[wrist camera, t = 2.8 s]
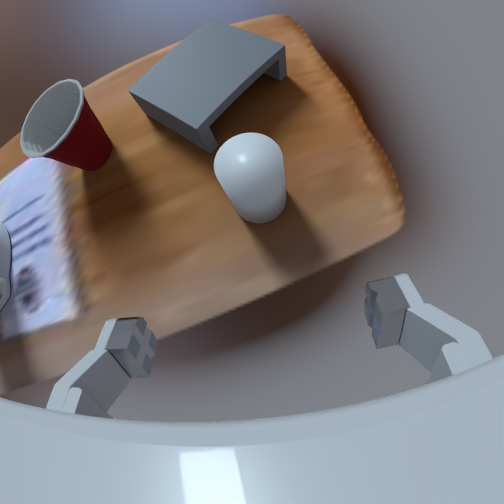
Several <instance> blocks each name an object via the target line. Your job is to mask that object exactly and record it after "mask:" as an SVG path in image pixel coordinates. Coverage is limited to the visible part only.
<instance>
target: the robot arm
mask: <svg viewBox="0 0 504 504" xmlns="http://www.w3.org/2000/svg"><path fill="white" fill-rule="evenodd" d="M10 259H11V247H10V239H9V235H8V232H7V229H6V227H5V226H4V225H3V224H2V223H1V222H0V310H1V309H2V307H3V306H4V304H5V303H6V301H7V300H8V298H9V296H10V282H9V269H10ZM365 292H366V295H367V297H366V299H365V300H364V310H365V316H366V320H367V323H368V325H369V326H370V327H372V337H373V340H374V343H375V346H376V349H379V348H383V347H388V346H393V345H397V344H399V346H400V347H402V348H403V349H404V350H405V351H406V352H407V353H409V354H410V355H411V356H412V357H413V358H415V359H416V360H417V361H418V362H419V363H420V364H422V365H423V366H424V367H425V368H426V369H428V370H429V371H430V372H431V374H430V376H429V378H428V380H427V383H426V385H423V386H420V387H417V388H414V389H410V390H407V391H403V392H400V393H396V394H393V395H389V396H385V397H381V398H377V399H374V400H369V401H365V402H361V403H356V404H352V405H347V406H342V407H337V408H332V409H326V410H320V411H314V412H309V413H302V414H295V415H287V416H279V417H270V418H261V419H250V420H235V421H216V422H156V421H135V420H122V419H114V418H113V417H111V416H110V415H109V414H108V413H107V411H108V409H109V408H110V407H111V405H112V404H113V403H114V401H115V400H116V399H117V397H118V396H119V395H120V394H121V392H122V391H123V390H124V388H125V387H126V386H127V384H128V383H129V382H130V380H131V378H147V377H148V378H149V377H150V374H151V370H152V366H153V363H152V361H151V358H152V357H153V356H154V355H155V353H156V349H157V347H156V339H155V336H154V334H153V332H152V331H151V330H149V329H147V328H146V325H147V323H146V321H145V320H144V318H143V317H130V318H119V319H109V320H107V321H106V323H105V325H104V327H103V330H102V332H101V334H100V337H99V339H98V342H97V344H96V347H95V349H94V350H91V351H90V352H89V353H88V354H87V355H86V356H85V357H83V358H82V359H81V360H80V361H79V362H78V363H77V364H76V365H75V366H74V367H73V368H72V369H71V370H70V371H69V372H67V373H66V374H65V375H64V376H63V377H62V378H61V379H60V380H59V381H58V382H57V383H56V384H55V385H54V388H53V391H52V393H51V396H50V398H49V401H48V404H47V406H46V408H40V407H36V406H32V405H27V404H23V403H19V402H15V401H11V400H7V399H4V398H0V504H504V354H502V355H500V356H498V357H496V358H494V359H493V358H492V356H491V354H490V353H489V350H488V349H487V347H486V345H485V343H484V341H483V340H482V338H481V336H480V334H479V333H478V332H477V331H475V330H474V329H472V328H470V327H469V326H467V325H465V324H463V323H462V322H460V321H458V320H457V319H455V318H453V317H451V316H450V315H448V314H446V313H444V312H443V311H441V310H439V309H437V308H436V307H434V306H432V305H430V304H424V302H423V300H422V299H421V297H420V295H419V293H418V292H417V290H416V288H415V287H414V285H413V283H412V281H411V280H410V278H409V277H408V275H407V274H400V275H396V276H393V277H388V278H383V279H379V280H374V281H369V282H366V285H365Z"/></svg>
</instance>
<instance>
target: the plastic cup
mask: <svg viewBox="0 0 504 504" xmlns="http://www.w3.org/2000/svg"><path fill="white" fill-rule="evenodd" d="M20 144H21V147H22V151H23V153H24V154H26V155H27V156H28V157H30V158H35V157H46V158H51V159H54V160H57V161H59V162H62V163H65V164H68V165H71V166H75V167H78V168H80V169H83V170H87V171H94V170H96V169H98V168H100V167H101V166H102V165H103V164H104V163H105V162H106V161H107V159H108V158H109V156H110V153H111V150H112V143H111V141H110V139H109V137H108V135H107V134H106V132H105V131H104V129H103V127H102V125H101V123H100V122H99V120H98V119H97V117H96V116H95V114H94V113H93V111H92V110H91V108H90V106H89V104H88V102H87V101H86V98H85V96H84V91H83V89H82V87H81V85H80V84H79V82H78V81H76V80H71V79H67V80H63V81H60V82H58V83H56V84H55V85H53V86H52V87H50V88H49V89H47V90H46V91H45V92H44V93H43V94H42V95H41V96H40V97H39V98H38V99H37V101H36V102H35V103H34V105H33V106H32V108H31V110H30V111H29V113H28V114H27V117H26V119H25V122H24V125H23V127H22V131H21V140H20Z"/></svg>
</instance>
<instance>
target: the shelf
mask: <svg viewBox="0 0 504 504" xmlns="http://www.w3.org/2000/svg"><path fill="white" fill-rule="evenodd" d="M263 73H264V74H266V75H269V76H271V77H273V78H275V79H277V80H279V81H281V80H282V79H283V78H284V77H285V76H286V75H287V70H286V54H285V45H283V44H281V43H278V42H276V41H273V40H270V39H268V38H265V37H262V36H260V35H257V34H254V33H251V32H248V31H245V30H242V29H239V28H236V27H233V26H230V25H226V24H223V23H220V22H216V21H213V20H209V21H207V22H206V23H205V24H204V25H202V26H201V27H199V28H198V29H197V30H196V31H194V32H193V33H192V34H190V35H189V36H188V37H187V38H185V39H184V40H183V41H182V42H181V43H179V44H178V45H177V46H176V47H175V48H173V49H172V50H171V51H170V52H169V53H167V54H166V55H165V56H164V57H163V58H162V59H161V60H160V61H158V62H157V63H156V64H155V65H154V66H153V67H152V68H151V69H150V70H149V71H148V72H146V73H145V74H144V75H143V76H142V77H141V78H140V79H139V80H138V81H137V82H136V83H135V84H134V85H133V86H132V87H131V88H130V89H129V90H128V91H129V93H130V94H131V95H132V97H133V98H134V99H135V101H136V102H137V103H138V105H139V106H140V107H141V109H142V110H143V111H144V113H145V114H146V115H148V116H149V117H151V118H153V119H154V120H156V121H158V122H159V123H161V124H163V125H164V126H166V127H168V128H169V129H171V130H172V131H174V132H176V133H177V134H179V135H180V136H182V137H184V138H185V139H187V140H188V141H190V142H192V143H193V144H195V145H196V146H198V147H199V148H201V149H202V150H204V151H206V152H207V153H209V154H211V153H212V152H213V151H214V150H215V149H216V148H217V146H218V144H217V142H216V140H215V138H214V136H213V134H212V132H211V129H210V127H209V126H210V125H211V124H212V123H213V122H214V121H215V120H216V119H217V118H218V117H219V116H220V115H221V114H222V113H223V112H224V111H225V110H226V109H227V108H228V107H229V106H230V105H231V104H232V103H233V102H234V101H235V100H236V99H237V98H238V97H239V96H240V95H241V94H242V93H243V92H244V91H245V90H246V89H247V88H248V87H249V86H250V85H251V84H252V83H253V82H254V81H255V80H256V79H257V78H258V77H260V76H261V75H262V74H263Z"/></svg>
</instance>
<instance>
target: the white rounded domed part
mask: <svg viewBox="0 0 504 504" xmlns="http://www.w3.org/2000/svg"><path fill="white" fill-rule="evenodd" d="M214 172H215V175H216V177H217V179H218V181H219V182H220V184H221V186H222V187H223V189H224V191H225V193H226V194H227V196H228V198H229V199H230V201H231V203H232V204H233V206H234V208H235V210H236V211H237V213H238V214H239V215H240V216H241V217H242V218H243V219H245V220H246V221H248V222H251V223H256V224H261V223H267V222H270V221H272V220H274V219H275V218H277V217H278V216H279V215H280V214H281V213H282V211H283V209H284V207H285V205H286V185H285V174H284V163H283V155H282V152H281V149H280V148H279V146H278V145H277V143H276V142H275V141H274V140H272V139H271V138H269V137H268V136H266V135H263V134H259V133H243V134H239V135H236V136H234V137H232V138H230V139H229V140H227V141H226V142H225V143H224V144H223V145H222V146H221V147H220V148H219V150H218V152H217V154H216V156H215V160H214Z"/></svg>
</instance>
